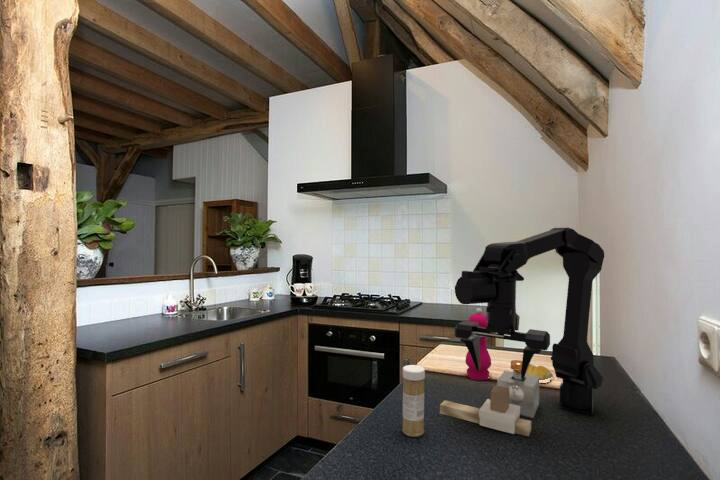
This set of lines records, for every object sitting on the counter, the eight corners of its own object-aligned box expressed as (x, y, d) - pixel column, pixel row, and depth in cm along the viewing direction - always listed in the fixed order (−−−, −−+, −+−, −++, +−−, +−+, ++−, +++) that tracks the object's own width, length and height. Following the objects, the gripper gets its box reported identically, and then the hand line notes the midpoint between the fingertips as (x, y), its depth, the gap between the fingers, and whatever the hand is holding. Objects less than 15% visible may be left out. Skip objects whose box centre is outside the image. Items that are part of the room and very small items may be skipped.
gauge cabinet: (538, 405, 96) (539, 376, 96) (533, 418, 89) (533, 387, 89) (504, 398, 100) (504, 370, 100) (496, 410, 93) (496, 380, 93)
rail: (531, 430, 83) (531, 421, 83) (528, 436, 81) (528, 426, 81) (444, 408, 93) (444, 400, 93) (439, 413, 91) (440, 404, 91)
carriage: (519, 422, 86) (520, 387, 86) (513, 435, 80) (513, 398, 80) (487, 414, 90) (487, 381, 90) (478, 426, 84) (479, 391, 84)
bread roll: (524, 371, 121) (524, 358, 121) (555, 379, 114) (555, 365, 114) (512, 378, 115) (512, 364, 115) (544, 386, 109) (544, 372, 108)
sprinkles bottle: (415, 425, 85) (416, 363, 85) (428, 435, 81) (429, 369, 81) (397, 429, 83) (398, 365, 83) (409, 439, 79) (410, 372, 79)
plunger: (527, 386, 95) (528, 361, 95) (525, 391, 92) (525, 365, 92) (512, 383, 97) (512, 359, 97) (508, 388, 94) (509, 363, 94)
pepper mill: (494, 381, 112) (495, 310, 112) (468, 380, 112) (469, 310, 112) (486, 372, 119) (487, 306, 119) (462, 371, 119) (463, 305, 119)
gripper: (553, 301, 87) (552, 372, 87) (469, 293, 97) (468, 357, 97) (547, 308, 77) (545, 388, 77) (454, 299, 87) (453, 370, 87)
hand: (499, 374), depth 85 cm, fingers open, 9 cm apart
